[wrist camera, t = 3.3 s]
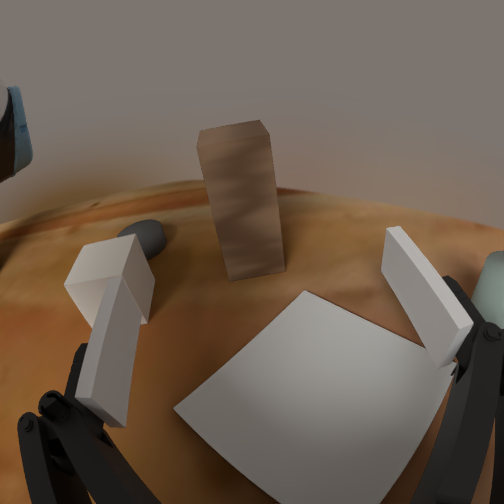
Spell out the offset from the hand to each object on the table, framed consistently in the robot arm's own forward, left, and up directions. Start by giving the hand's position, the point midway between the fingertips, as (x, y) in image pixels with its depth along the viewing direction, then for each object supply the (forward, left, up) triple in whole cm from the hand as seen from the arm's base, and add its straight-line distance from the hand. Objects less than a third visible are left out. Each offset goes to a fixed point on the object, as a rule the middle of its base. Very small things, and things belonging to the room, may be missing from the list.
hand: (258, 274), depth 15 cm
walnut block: (-7, +6, -6) cm, 12 cm away
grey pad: (+5, -1, -6) cm, 8 cm away
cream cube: (-12, -4, -7) cm, 15 cm away
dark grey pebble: (-18, +1, -7) cm, 20 cm away
